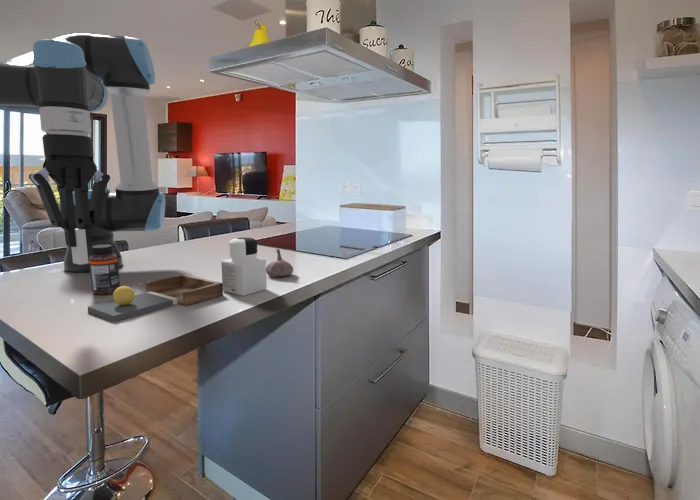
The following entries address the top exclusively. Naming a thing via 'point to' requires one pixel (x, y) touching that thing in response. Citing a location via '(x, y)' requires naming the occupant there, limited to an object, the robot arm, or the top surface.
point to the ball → (123, 295)
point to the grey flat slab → (132, 306)
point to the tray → (186, 288)
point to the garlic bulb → (279, 267)
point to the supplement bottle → (104, 270)
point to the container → (243, 268)
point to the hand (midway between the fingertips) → (80, 263)
